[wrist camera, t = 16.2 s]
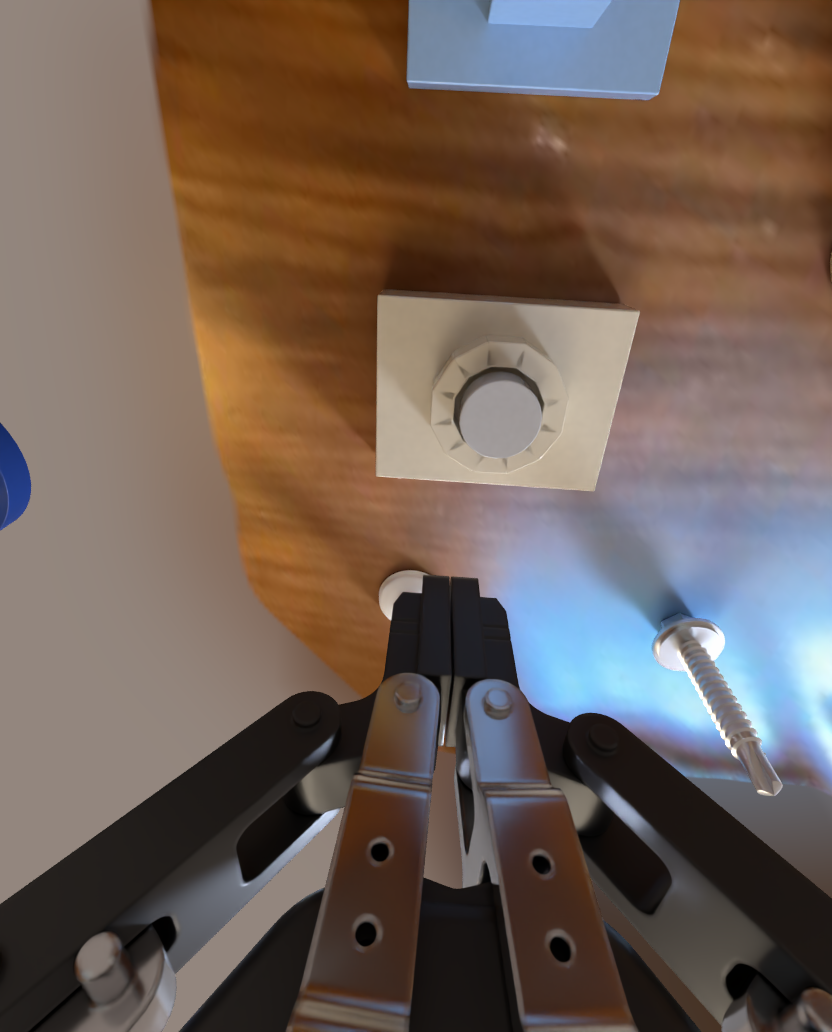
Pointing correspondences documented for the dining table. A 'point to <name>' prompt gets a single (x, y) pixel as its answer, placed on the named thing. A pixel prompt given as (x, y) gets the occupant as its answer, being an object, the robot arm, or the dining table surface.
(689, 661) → the screw
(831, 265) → the hand bell
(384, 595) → the chess piece
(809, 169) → the dining table surface
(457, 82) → the lever bracket
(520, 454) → the dial knob panel
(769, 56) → the dining table surface
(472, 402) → the grey push button
